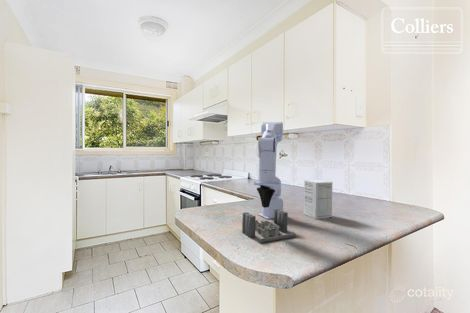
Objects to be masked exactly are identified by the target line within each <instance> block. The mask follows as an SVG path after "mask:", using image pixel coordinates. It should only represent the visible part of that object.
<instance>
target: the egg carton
mask: <svg viewBox="0 0 470 313" xmlns="http://www.w3.org/2000/svg"><path fill="white" fill-rule="evenodd" d="M255 231H256V233H258V234H260V237H263V238H269V237H275V236H280V230H279V226H278V225H277V224H275V223H274V220H272V219H271V220H264V221H263V220H261V221H260V222H259V220H257V219H256V221H255Z"/></svg>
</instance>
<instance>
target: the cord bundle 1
mask: <svg viewBox="0 0 470 313" xmlns="http://www.w3.org/2000/svg"><path fill="white" fill-rule="evenodd" d="M256 218H257V217H256V215H253V214H252V213H249V212H242V222H241V223H242V225H241V226H242V227H241V228H242V230H241V233H242V234H244V235H245V236H247V237H248V238H250V239H254V238H256V230H255V221H256V220H257V219H256Z"/></svg>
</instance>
